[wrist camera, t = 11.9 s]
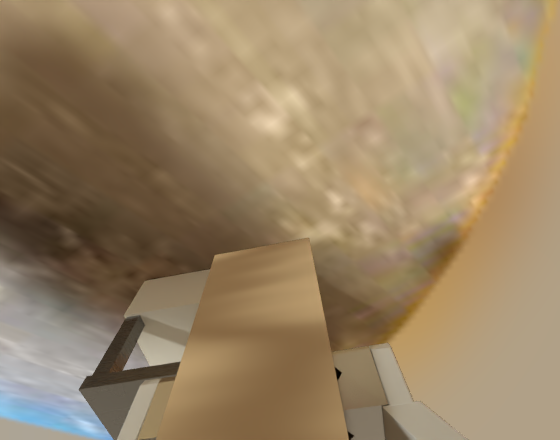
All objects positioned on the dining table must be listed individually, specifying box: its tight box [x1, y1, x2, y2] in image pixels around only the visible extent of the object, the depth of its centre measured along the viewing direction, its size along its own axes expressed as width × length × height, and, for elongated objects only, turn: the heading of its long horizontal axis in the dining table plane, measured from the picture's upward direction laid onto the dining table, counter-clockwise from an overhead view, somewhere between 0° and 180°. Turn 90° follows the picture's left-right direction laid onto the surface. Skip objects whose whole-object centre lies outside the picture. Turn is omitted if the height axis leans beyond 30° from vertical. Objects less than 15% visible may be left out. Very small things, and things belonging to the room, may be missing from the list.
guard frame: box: [79, 315, 181, 440], centre depth 27 cm, size 14×14×7 cm
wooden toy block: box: [156, 238, 349, 440], centre depth 8 cm, size 4×4×9 cm
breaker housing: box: [124, 269, 210, 366], centre depth 32 cm, size 14×14×5 cm
